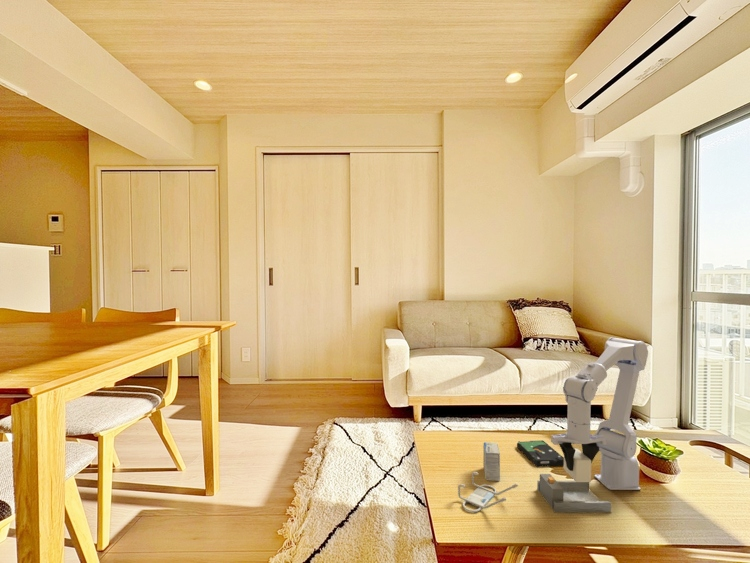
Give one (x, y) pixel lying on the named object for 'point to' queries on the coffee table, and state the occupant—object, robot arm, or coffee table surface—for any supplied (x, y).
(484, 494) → the wall mount rack
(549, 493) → the block
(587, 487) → the grey tray
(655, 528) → the coffee table surface
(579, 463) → the block
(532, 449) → the disk drive
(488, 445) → the medicine box
